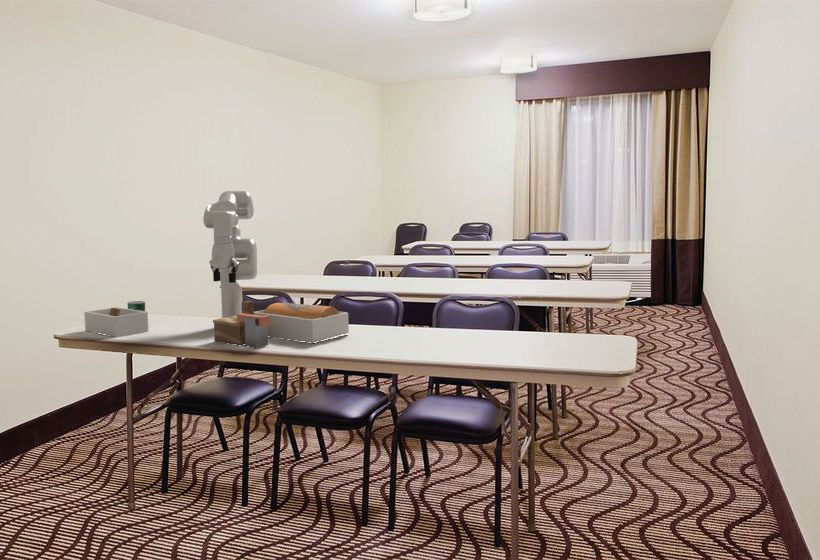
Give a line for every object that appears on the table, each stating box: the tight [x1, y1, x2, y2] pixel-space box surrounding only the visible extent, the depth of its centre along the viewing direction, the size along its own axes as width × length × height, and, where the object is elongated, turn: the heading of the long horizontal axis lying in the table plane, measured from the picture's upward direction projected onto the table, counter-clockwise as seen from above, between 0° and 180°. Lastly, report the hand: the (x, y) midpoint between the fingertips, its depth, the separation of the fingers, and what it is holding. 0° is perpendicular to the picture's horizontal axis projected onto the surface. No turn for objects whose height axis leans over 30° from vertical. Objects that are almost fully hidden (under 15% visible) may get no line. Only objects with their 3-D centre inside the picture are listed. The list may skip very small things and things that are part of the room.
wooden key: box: [237, 313, 271, 327], centre depth 276 cm, size 4×16×4 cm, turn 55°
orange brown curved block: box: [264, 302, 340, 320], centre depth 298 cm, size 30×16×14 cm, turn 64°
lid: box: [212, 300, 255, 327], centre depth 285 cm, size 15×17×8 cm
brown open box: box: [213, 323, 246, 346], centre depth 286 cm, size 14×16×8 cm
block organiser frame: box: [83, 306, 149, 338], centre depth 307 cm, size 16×24×9 cm, turn 55°
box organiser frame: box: [254, 309, 350, 343], centre depth 299 cm, size 23×36×10 cm, turn 55°
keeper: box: [245, 317, 269, 349], centre depth 275 cm, size 7×6×12 cm
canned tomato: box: [126, 300, 146, 312], centre depth 323 cm, size 8×8×11 cm
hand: (224, 281), depth 283 cm, fingers open, 9 cm apart
